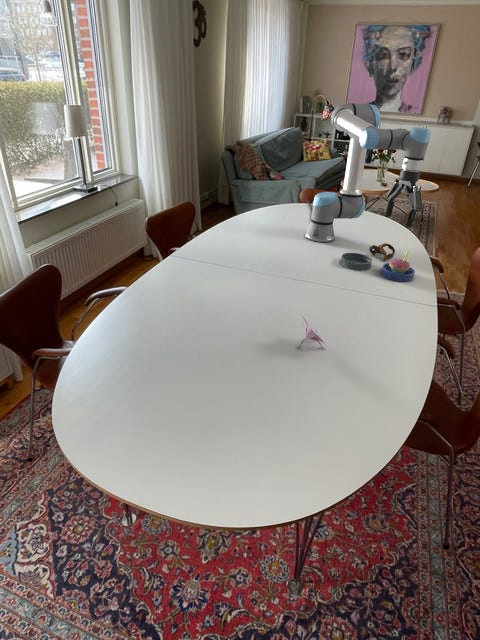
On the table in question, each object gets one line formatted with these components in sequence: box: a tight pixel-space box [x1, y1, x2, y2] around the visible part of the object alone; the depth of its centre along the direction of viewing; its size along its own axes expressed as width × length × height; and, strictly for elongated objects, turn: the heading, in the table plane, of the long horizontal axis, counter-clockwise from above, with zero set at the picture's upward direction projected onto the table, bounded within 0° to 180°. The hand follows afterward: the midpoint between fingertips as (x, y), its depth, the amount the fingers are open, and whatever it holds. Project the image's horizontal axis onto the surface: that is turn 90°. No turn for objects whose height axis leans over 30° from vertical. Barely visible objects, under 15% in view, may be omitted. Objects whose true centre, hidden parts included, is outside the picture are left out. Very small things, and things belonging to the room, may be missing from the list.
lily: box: [297, 314, 327, 349], centre depth 136 cm, size 12×12×10 cm
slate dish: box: [340, 252, 373, 271], centre depth 200 cm, size 14×14×3 cm
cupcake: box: [389, 249, 411, 275], centre depth 189 cm, size 9×8×12 cm
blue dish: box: [380, 262, 416, 282], centre depth 191 cm, size 14×14×3 cm
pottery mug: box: [368, 242, 396, 262], centre depth 208 cm, size 12×10×8 cm
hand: (397, 221), depth 184 cm, fingers open, 13 cm apart
